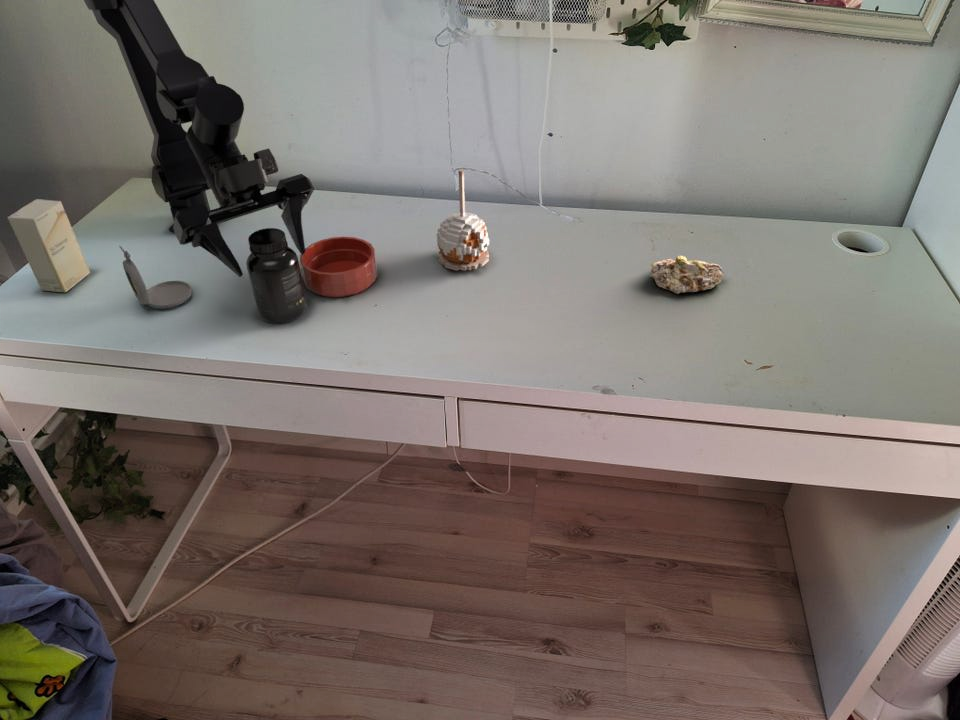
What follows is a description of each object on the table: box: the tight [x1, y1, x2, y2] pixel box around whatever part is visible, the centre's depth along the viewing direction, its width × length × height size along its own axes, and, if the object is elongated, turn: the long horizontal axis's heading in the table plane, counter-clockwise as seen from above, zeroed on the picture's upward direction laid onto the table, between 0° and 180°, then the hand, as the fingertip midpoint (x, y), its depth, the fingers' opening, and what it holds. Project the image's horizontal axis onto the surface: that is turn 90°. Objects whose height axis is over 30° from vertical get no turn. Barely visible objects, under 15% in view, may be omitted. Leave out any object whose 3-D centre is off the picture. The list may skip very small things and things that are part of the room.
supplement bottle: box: [245, 227, 308, 324], centre depth 98 cm, size 7×7×12 cm
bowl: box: [299, 236, 378, 298], centre depth 107 cm, size 11×11×4 cm
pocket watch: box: [118, 245, 193, 310], centre depth 102 cm, size 8×8×10 cm
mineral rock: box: [650, 255, 725, 295], centre depth 106 cm, size 11×4×8 cm
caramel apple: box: [436, 169, 490, 272], centre depth 108 cm, size 8×8×15 cm
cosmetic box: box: [7, 198, 91, 293], centre depth 105 cm, size 6×4×12 cm
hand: (273, 264), depth 97 cm, fingers open, 9 cm apart
